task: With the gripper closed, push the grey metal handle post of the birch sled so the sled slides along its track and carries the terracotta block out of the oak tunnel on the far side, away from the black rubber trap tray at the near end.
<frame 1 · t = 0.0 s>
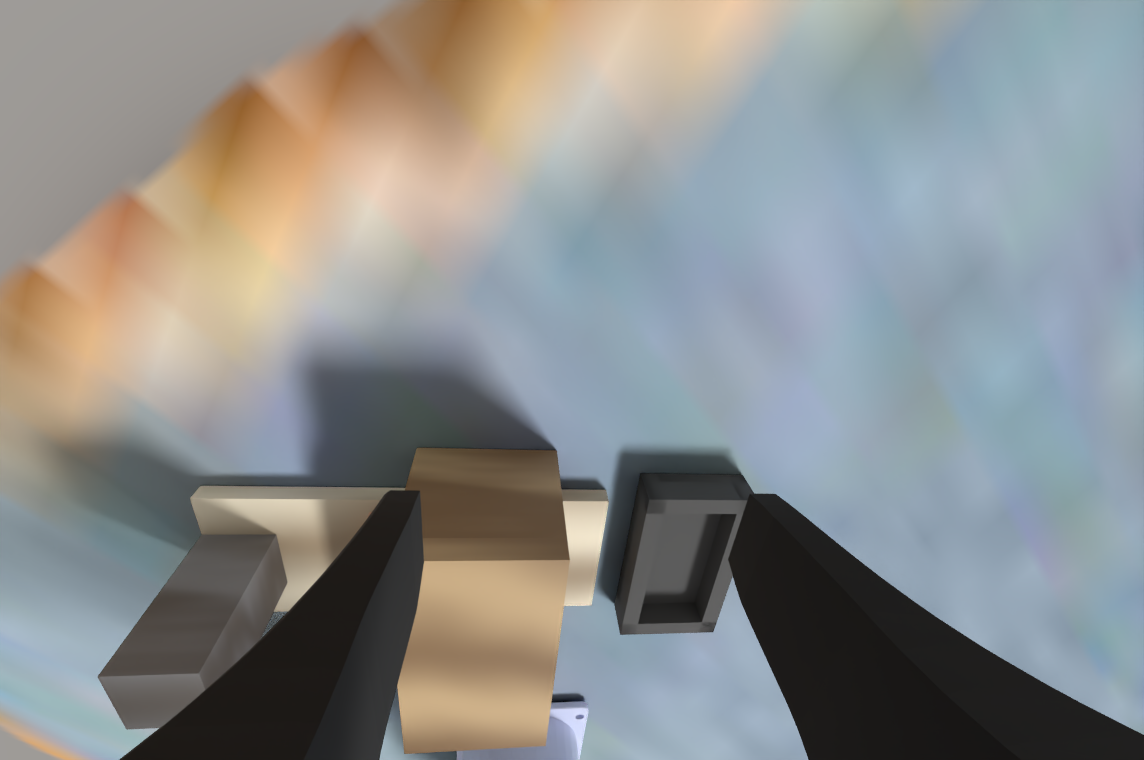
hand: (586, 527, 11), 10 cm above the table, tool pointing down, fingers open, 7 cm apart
trap tray: (674, 544, 26), on the table
sled: (402, 608, 21), point 4 cm above the table, slide at 0.0 cm
tunnel: (485, 544, 25), on the table
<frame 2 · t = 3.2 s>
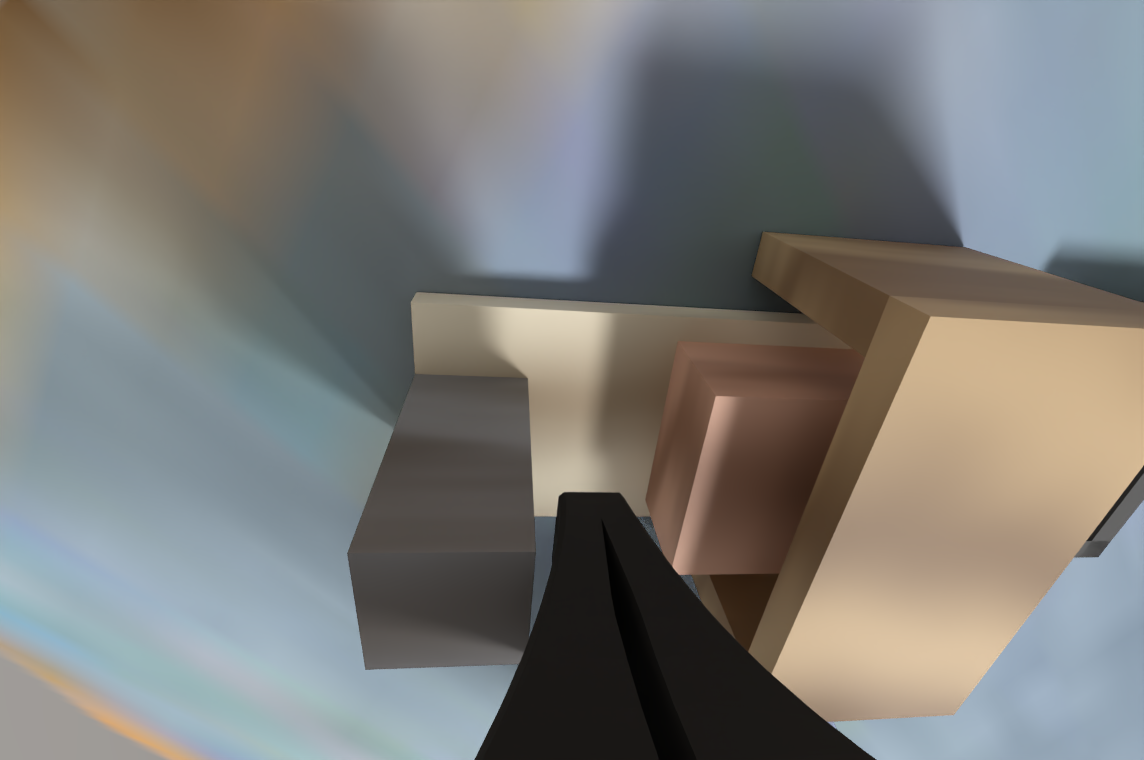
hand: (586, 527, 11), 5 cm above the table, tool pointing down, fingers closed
trap tray: (1058, 424, 18), on the table
sled: (752, 487, 13), point 4 cm above the table, slide at 0.0 cm, touching gripper
tunnel: (803, 417, 16), on the table
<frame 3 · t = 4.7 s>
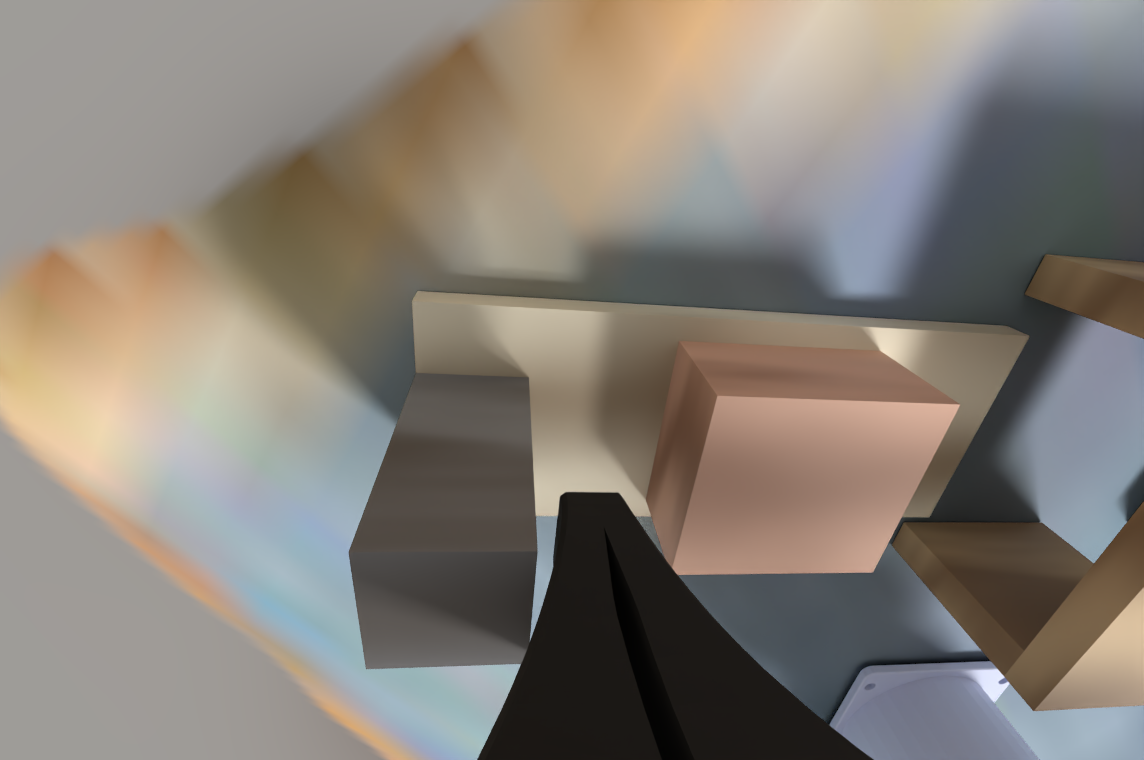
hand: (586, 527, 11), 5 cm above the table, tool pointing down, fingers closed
sled: (753, 487, 13), point 4 cm above the table, slide at 8.5 cm, touching gripper
tunnel: (1034, 424, 18), on the table
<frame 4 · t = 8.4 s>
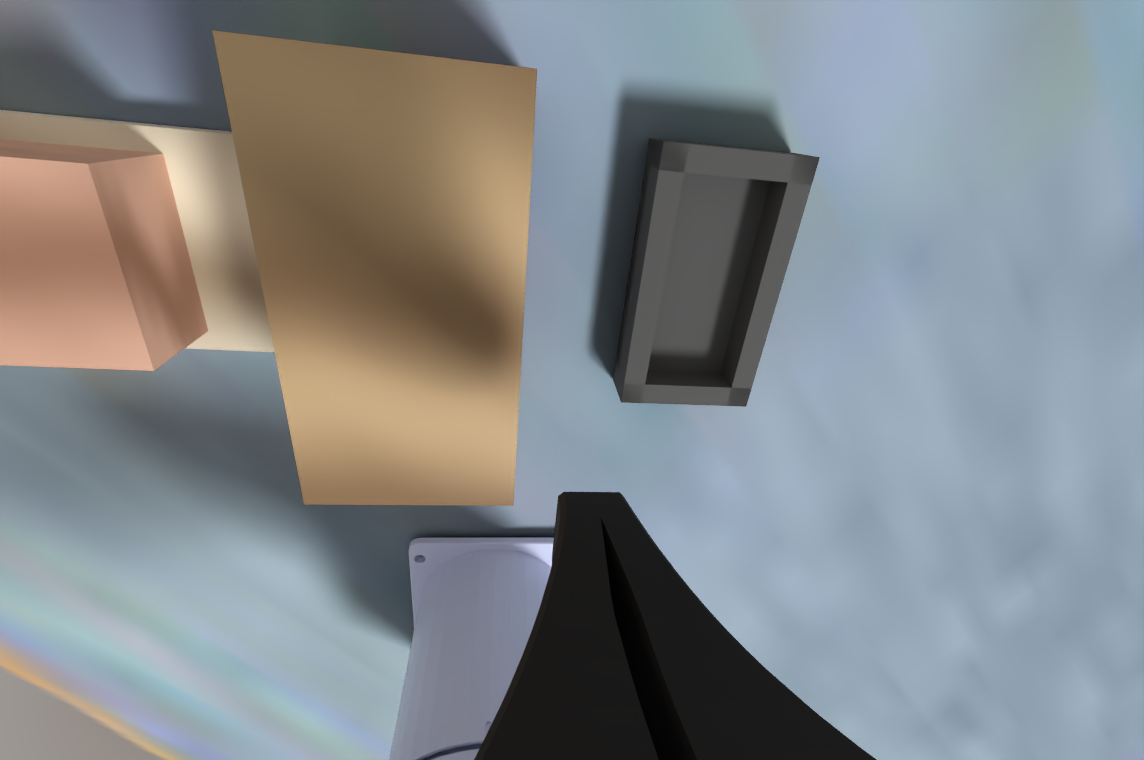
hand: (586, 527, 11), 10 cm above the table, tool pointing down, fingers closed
trap tray: (694, 276, 19), on the table
tunnel: (434, 259, 18), on the table
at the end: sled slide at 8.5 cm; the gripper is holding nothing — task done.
